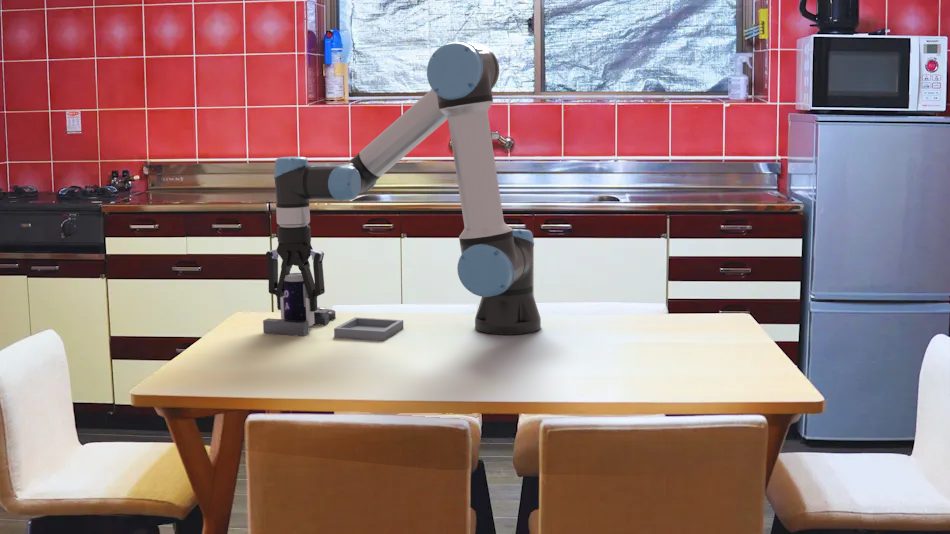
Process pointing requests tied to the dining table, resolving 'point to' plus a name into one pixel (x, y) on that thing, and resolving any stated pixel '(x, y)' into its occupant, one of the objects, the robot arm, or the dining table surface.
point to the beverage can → (295, 297)
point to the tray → (368, 328)
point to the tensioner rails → (297, 323)
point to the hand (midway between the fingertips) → (298, 324)
